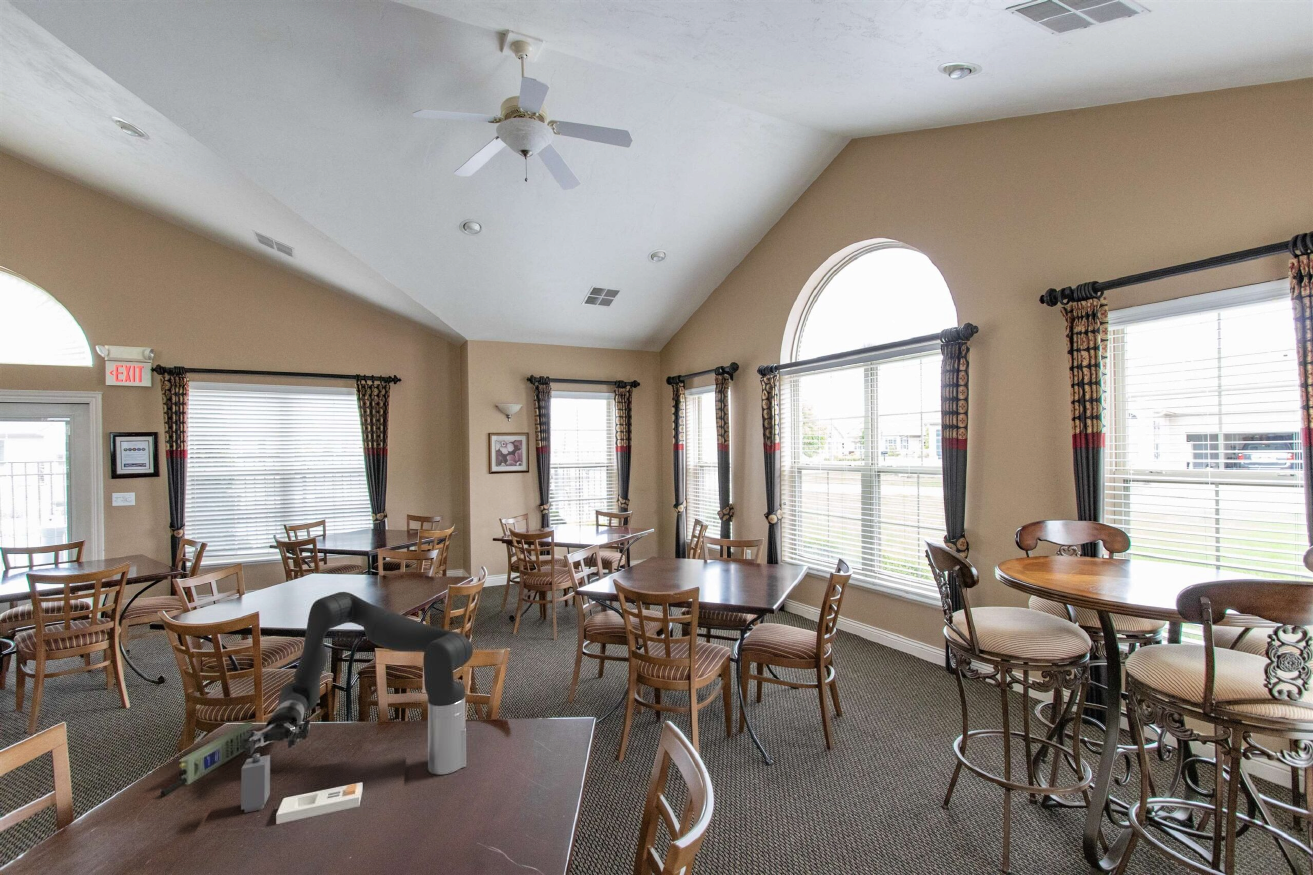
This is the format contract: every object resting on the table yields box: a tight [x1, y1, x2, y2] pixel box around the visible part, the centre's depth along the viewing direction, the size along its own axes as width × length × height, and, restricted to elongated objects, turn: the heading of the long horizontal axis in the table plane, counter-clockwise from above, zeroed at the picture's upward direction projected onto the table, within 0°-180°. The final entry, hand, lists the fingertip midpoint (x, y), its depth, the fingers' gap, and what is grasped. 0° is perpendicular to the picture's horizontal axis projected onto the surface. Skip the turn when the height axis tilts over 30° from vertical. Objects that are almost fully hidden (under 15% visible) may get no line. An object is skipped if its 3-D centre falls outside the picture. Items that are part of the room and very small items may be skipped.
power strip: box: [275, 782, 363, 825], centre depth 129 cm, size 22×6×4 cm, turn 112°
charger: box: [240, 752, 271, 814], centre depth 128 cm, size 4×4×12 cm
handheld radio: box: [159, 721, 254, 797], centre depth 147 cm, size 7×3×25 cm
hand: (269, 747), depth 139 cm, fingers open, 8 cm apart
